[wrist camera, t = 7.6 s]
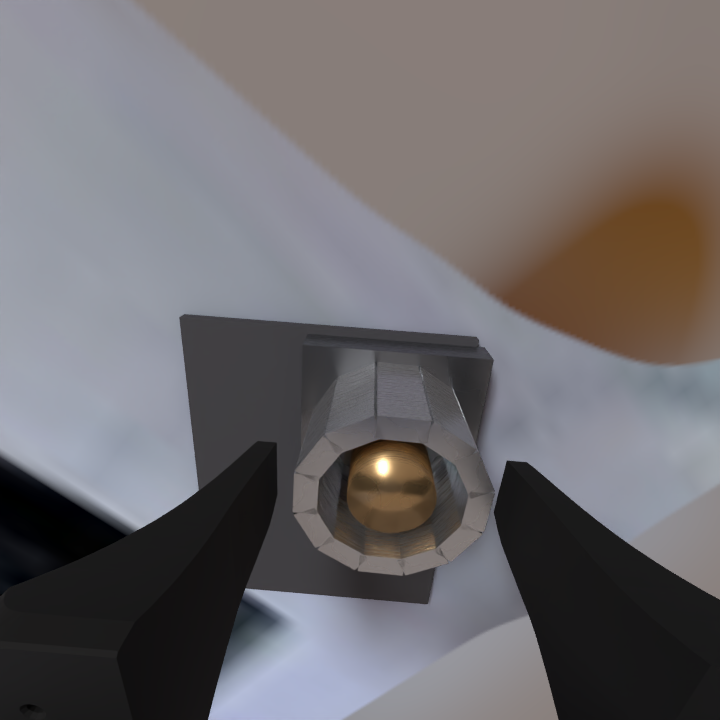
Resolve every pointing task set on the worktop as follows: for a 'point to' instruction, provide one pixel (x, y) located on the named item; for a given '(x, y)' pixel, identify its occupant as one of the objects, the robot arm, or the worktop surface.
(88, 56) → the worktop surface
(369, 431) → the ring
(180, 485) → the worktop surface
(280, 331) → the mat
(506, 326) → the worktop surface
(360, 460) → the doorknob
